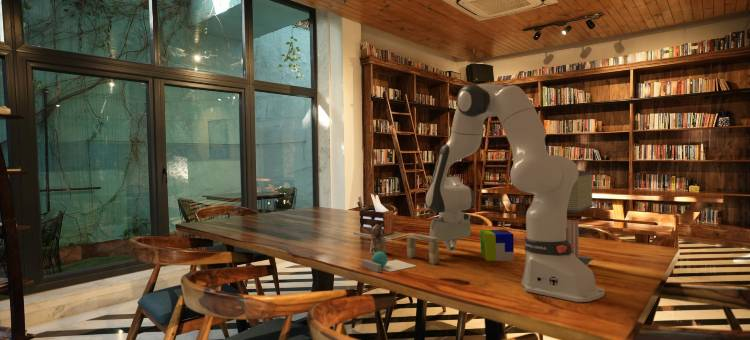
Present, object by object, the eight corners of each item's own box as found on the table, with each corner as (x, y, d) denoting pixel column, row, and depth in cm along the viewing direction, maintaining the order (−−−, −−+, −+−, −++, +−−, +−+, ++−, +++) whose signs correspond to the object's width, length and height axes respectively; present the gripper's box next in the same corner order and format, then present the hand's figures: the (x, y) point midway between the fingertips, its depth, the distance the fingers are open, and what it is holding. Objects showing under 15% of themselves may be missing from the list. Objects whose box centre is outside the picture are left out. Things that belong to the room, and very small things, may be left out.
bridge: (412, 255, 168) (412, 232, 168) (438, 263, 155) (438, 238, 155) (407, 257, 166) (406, 233, 166) (432, 264, 154) (432, 239, 154)
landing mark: (416, 266, 151) (416, 265, 151) (390, 271, 144) (390, 271, 144) (396, 260, 161) (396, 259, 161) (370, 265, 154) (370, 264, 154)
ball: (392, 262, 151) (387, 249, 150) (382, 271, 148) (376, 257, 147) (383, 261, 156) (377, 248, 155) (372, 269, 152) (366, 255, 151)
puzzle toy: (513, 260, 158) (513, 234, 157) (487, 260, 158) (486, 234, 158) (506, 254, 168) (505, 229, 167) (480, 254, 168) (480, 230, 168)
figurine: (366, 252, 176) (366, 223, 176) (382, 250, 179) (381, 222, 179) (374, 255, 170) (373, 226, 170) (389, 253, 173) (389, 224, 173)
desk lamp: (579, 275, 135) (579, 174, 135) (535, 269, 144) (534, 174, 144) (593, 264, 149) (593, 172, 149) (552, 258, 158) (551, 172, 158)
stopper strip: (381, 271, 145) (381, 264, 145) (377, 272, 144) (377, 265, 144) (365, 266, 153) (365, 259, 153) (362, 266, 152) (361, 259, 152)
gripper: (436, 219, 160) (437, 255, 161) (473, 214, 172) (473, 248, 172) (425, 217, 166) (425, 252, 166) (461, 213, 177) (462, 245, 178)
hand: (450, 250), depth 169 cm, fingers closed
